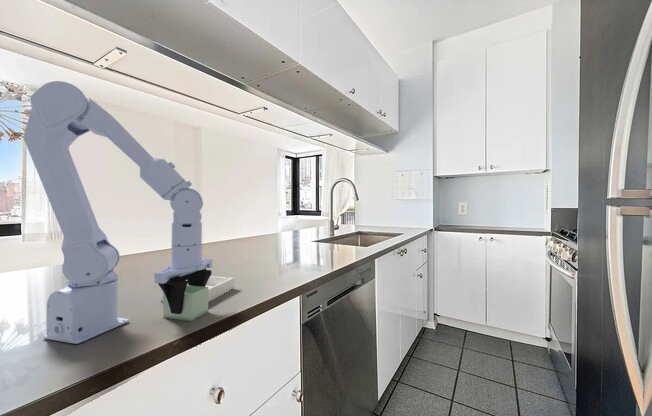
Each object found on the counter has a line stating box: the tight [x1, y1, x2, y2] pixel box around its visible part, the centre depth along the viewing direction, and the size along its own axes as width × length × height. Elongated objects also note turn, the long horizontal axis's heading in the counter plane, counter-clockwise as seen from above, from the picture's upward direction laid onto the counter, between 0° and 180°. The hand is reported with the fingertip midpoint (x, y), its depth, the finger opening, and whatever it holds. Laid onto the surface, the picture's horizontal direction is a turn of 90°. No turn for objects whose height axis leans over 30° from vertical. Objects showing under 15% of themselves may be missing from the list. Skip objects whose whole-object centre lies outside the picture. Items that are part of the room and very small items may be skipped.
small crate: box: [162, 285, 209, 322], centre depth 59 cm, size 5×7×6 cm
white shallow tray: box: [160, 275, 235, 303], centre depth 72 cm, size 14×11×3 cm
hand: (186, 308), depth 59 cm, fingers closed on small crate, 5 cm apart
